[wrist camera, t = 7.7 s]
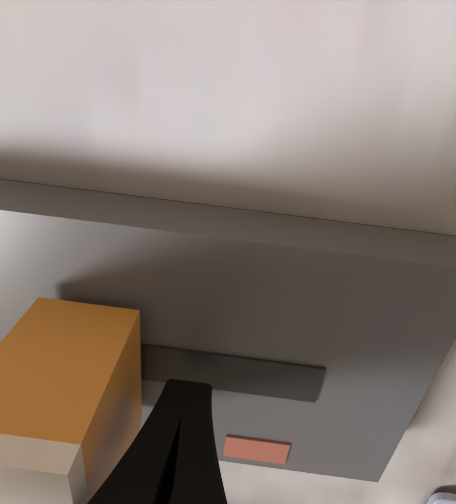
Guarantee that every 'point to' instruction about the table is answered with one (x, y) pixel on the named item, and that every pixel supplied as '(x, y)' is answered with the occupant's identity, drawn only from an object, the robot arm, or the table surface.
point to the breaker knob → (67, 400)
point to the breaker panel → (250, 314)
